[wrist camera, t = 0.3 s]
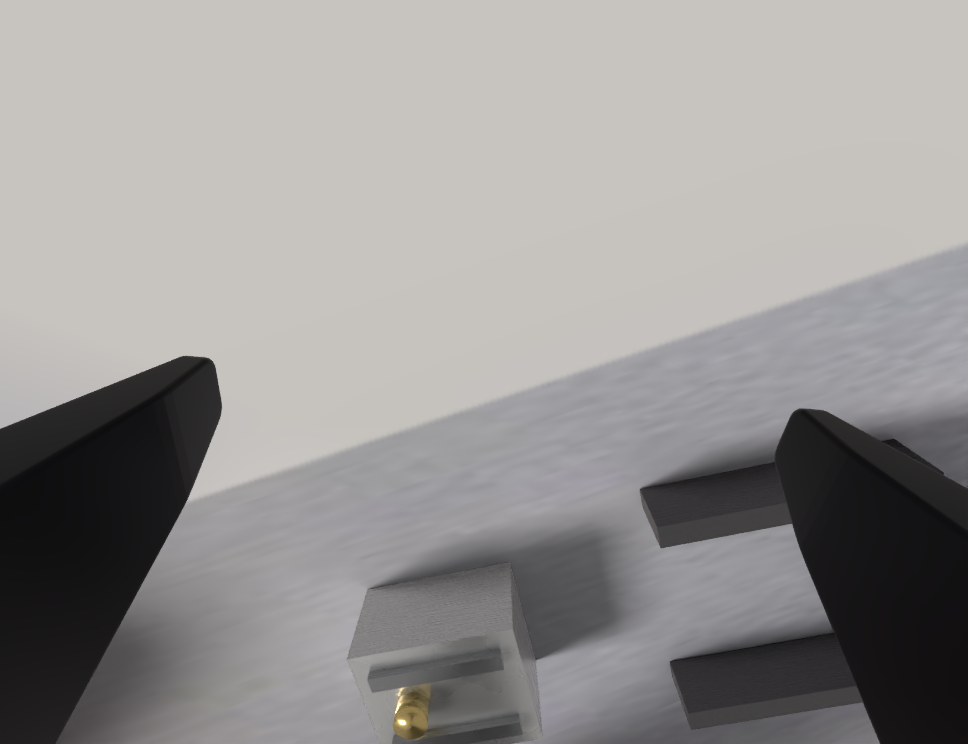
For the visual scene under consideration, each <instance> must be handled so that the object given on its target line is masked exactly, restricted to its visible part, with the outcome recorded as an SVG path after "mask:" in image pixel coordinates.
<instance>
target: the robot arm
mask: <svg viewBox="0 0 968 744" xmlns="http://www.w3.org/2000/svg"><path fill="white" fill-rule="evenodd" d="M221 410H222V403H221V396H220V391H219V385H218V379H217V374H216V368H215V365H214V363H213V361H212V360H210V359H209V358H205V357H193V356H182V357H179V358H176V359H174V360H171V361H169V362H166V363H164V364H162V365H159V366H156V367H154V368H151V369H149V370H146V371H144V372H141V373H139V374H136V375H134V376H132V377H129V378H126V379H124V380H121V381H119V382H117V383H114V384H112V385H109V386H107V387H104V388H101V389H99V390H96V391H94V392H91V393H89V394H86V395H84V396H81V397H79V398H76V399H74V400H71V401H69V402H66V403H64V404H62V405H59V406H56V407H54V408H51V409H49V410H46V411H44V412H41V413H39V414H36V415H34V416H31V417H29V418H26V419H24V420H21V421H19V422H16V423H14V424H12V425H9V426H7V427H4V428H1V429H0V744H55V743H56V742H57V740H58V738H59V736H60V734H61V732H62V731H63V729H64V727H65V725H66V723H67V721H68V719H69V718H70V716H71V714H72V712H73V710H74V708H75V707H76V705H77V703H78V701H79V699H80V697H81V696H82V694H83V692H84V690H85V688H86V686H87V684H88V683H89V681H90V679H91V677H92V675H93V673H94V672H95V670H96V668H97V666H98V664H99V662H100V661H101V659H102V657H103V655H104V653H105V651H106V649H107V648H108V646H109V644H110V642H111V640H112V638H113V637H114V635H115V633H116V631H117V629H118V627H119V626H120V624H121V622H122V620H123V618H124V616H125V614H126V613H127V611H128V609H129V607H130V605H131V603H132V602H133V600H134V598H135V596H136V594H137V592H138V591H139V589H140V587H141V585H142V583H143V581H144V579H145V578H146V576H147V574H148V572H149V570H150V568H151V567H152V565H153V563H154V561H155V559H156V557H157V555H158V554H159V552H160V550H161V548H162V546H163V544H164V543H165V541H166V539H167V537H168V535H169V533H170V532H171V530H172V528H173V526H174V524H175V522H176V520H177V519H178V517H179V515H180V513H181V511H182V509H183V507H184V505H185V503H186V501H187V499H188V497H189V495H190V492H191V490H192V488H193V485H194V483H195V480H196V478H197V475H198V473H199V470H200V467H201V465H202V463H203V460H204V458H205V455H206V452H207V450H208V447H209V445H210V442H211V439H212V437H213V435H214V432H215V430H216V427H217V425H218V422H219V419H220V416H221ZM775 465H776V469H777V472H778V476H779V479H780V483H781V486H782V490H783V493H784V497H785V500H786V504H787V507H788V511H789V514H790V518H791V521H792V525H793V528H794V532H795V535H796V538H797V541H798V544H799V547H800V550H801V553H802V555H803V558H804V561H805V563H806V566H807V568H808V570H809V573H810V575H811V578H812V580H813V583H814V585H815V587H816V590H817V592H818V595H819V597H820V599H821V602H822V604H823V607H824V609H825V612H826V614H827V616H828V619H829V621H830V624H831V626H832V628H833V631H834V633H835V636H836V638H837V641H838V643H839V645H840V648H841V650H842V653H843V655H844V658H845V660H846V662H847V665H848V667H849V670H850V672H851V674H852V677H853V679H854V682H855V684H856V687H857V689H858V691H859V694H860V696H861V699H862V701H863V703H864V706H865V708H866V711H867V713H868V716H869V718H870V720H871V723H872V725H873V728H874V730H875V733H876V735H877V737H878V740H879V742H880V744H968V489H967V488H965V487H964V486H962V485H960V484H958V483H956V482H954V481H953V480H951V479H949V478H947V477H945V476H943V475H942V474H940V473H938V472H936V471H934V470H933V469H931V468H929V467H927V466H925V465H923V464H922V463H920V462H918V461H916V460H914V459H912V458H911V457H909V456H907V455H905V454H903V453H901V452H900V451H898V450H896V449H894V448H892V447H891V446H889V445H887V444H885V443H883V442H881V441H880V440H878V439H876V438H874V437H872V436H870V435H869V434H867V433H865V432H863V431H861V430H859V429H858V428H856V427H854V426H852V425H850V424H849V423H847V422H845V421H843V420H841V419H839V418H838V417H836V416H834V415H832V414H830V413H828V412H826V411H823V410H815V409H797V410H796V411H794V412H793V413H792V415H791V416H790V418H789V421H788V423H787V425H786V428H785V430H784V432H783V435H782V437H781V439H780V441H779V444H778V446H777V449H776V452H775Z"/></svg>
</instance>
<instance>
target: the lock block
mask: <svg viewBox="0 0 968 744" xmlns="http://www.w3.org/2000/svg"><path fill="white" fill-rule="evenodd" d="M347 661H348V664H349V667H350V669H351V672H352V674H353V677H354V679H355V682H356V684H357V687H358V689H359V692H360V694H361V697H362V700H363V702H364V705H365V707H366V710H367V712H368V715H369V717H370V720H371V722H372V725H373V727H374V730H375V733H376V735H377V738H378V740H379V743H380V744H511V743H517V742H523V741H529V740H535V739H541V738H543V735H542V724H541V712H540V701H539V690H538V679H537V667H536V659H535V655H534V651H533V648H532V644H531V640H530V636H529V633H528V629H527V625H526V621H525V617H524V614H523V610H522V606H521V602H520V599H519V595H518V591H517V587H516V584H515V580H514V576H513V572H512V569H511V565H510V562H507V563H502V564H497V565H491V566H486V567H481V568H476V569H471V570H465V571H460V572H455V573H450V574H444V575H439V576H434V577H429V578H424V579H418V580H413V581H408V582H403V583H398V584H392V585H387V586H382V587H377V588H372V589H367V592H366V596H365V599H364V603H363V606H362V609H361V613H360V616H359V620H358V623H357V626H356V630H355V633H354V637H353V640H352V643H351V647H350V650H349V654H348V657H347Z"/></svg>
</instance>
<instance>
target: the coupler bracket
mask: <svg viewBox="0 0 968 744" xmlns="http://www.w3.org/2000/svg"><path fill="white" fill-rule="evenodd" d="M881 442H883V443H885V444H887V445H889V446H891V447H892V448H894V449H896V450H898V451H900V452H901V453H903V454H905V455H907V456H909V457H911V458H912V459H914V460H916V461H918V462H920V463H922V464H923V465H925V466H927V467H929V468H931V469H933V470H934V471H936V472H938V473H940V474H942V475H943V476H944V473H943V472H942V471H941V470H939V469H938V468H936V467H935V466H933V465H932V464H930V463H929V462H927V461H926V460H924V459H923V458H921V457H920V456H918V455H917V454H915V453H914V452H913V451H911V450H910V449H908V448H907V447H905V446H904V445H902V444H901V443H899V442H898V441H896V440H895V439H891V440H886V441H881ZM640 493H641V499H642V505H643V509H644V511H645V514H646V516H647V518H648V520H649V523H650V525H651V527H652V530H653V532H654V534H655V536H656V539H657V541H658V543H659V545H660V548H665V547H670V546H676V545H681V544H686V543H692V542H697V541H702V540H707V539H713V538H718V537H723V536H729V535H734V534H739V533H744V532H750V531H755V530H760V529H766V528H771V527H776V526H781V525H787V524H792V521H791V518H790V514H789V511H788V507H787V504H786V500H785V497H784V493H783V490H782V486H781V483H780V479H779V476H778V472H777V469H776V465H775V463H770V464H765V465H760V466H755V467H750V468H745V469H740V470H735V471H730V472H725V473H720V474H715V475H709V476H704V477H699V478H694V479H689V480H684V481H679V482H674V483H669V484H664V485H659V486H654V487H649V488H644V489H640ZM670 666H671V671H672V677H673V680H674V683H675V686H676V688H677V691H678V694H679V697H680V700H681V703H682V705H683V708H684V711H685V714H686V717H687V720H688V722H689V725H690V728H691V730H693V729H700V728H706V727H712V726H718V725H724V724H730V723H737V722H743V721H749V720H755V719H761V718H767V717H774V716H780V715H786V714H792V713H798V712H805V711H811V710H817V709H823V708H829V707H835V706H842V705H848V704H854V703H860V702H863V701H862V699H861V696H860V694H859V691H858V689H857V687H856V684H855V682H854V679H853V677H852V674H851V672H850V670H849V667H848V665H847V662H846V660H845V658H844V655H843V653H842V650H841V648H840V645H839V643H838V641H837V638H836V636H835V633H833V634H828V635H822V636H816V637H810V638H804V639H799V640H793V641H787V642H781V643H775V644H770V645H764V646H758V647H752V648H746V649H741V650H735V651H729V652H723V653H717V654H712V655H706V656H700V657H694V658H688V659H683V660H677V661H671V662H670Z"/></svg>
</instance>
